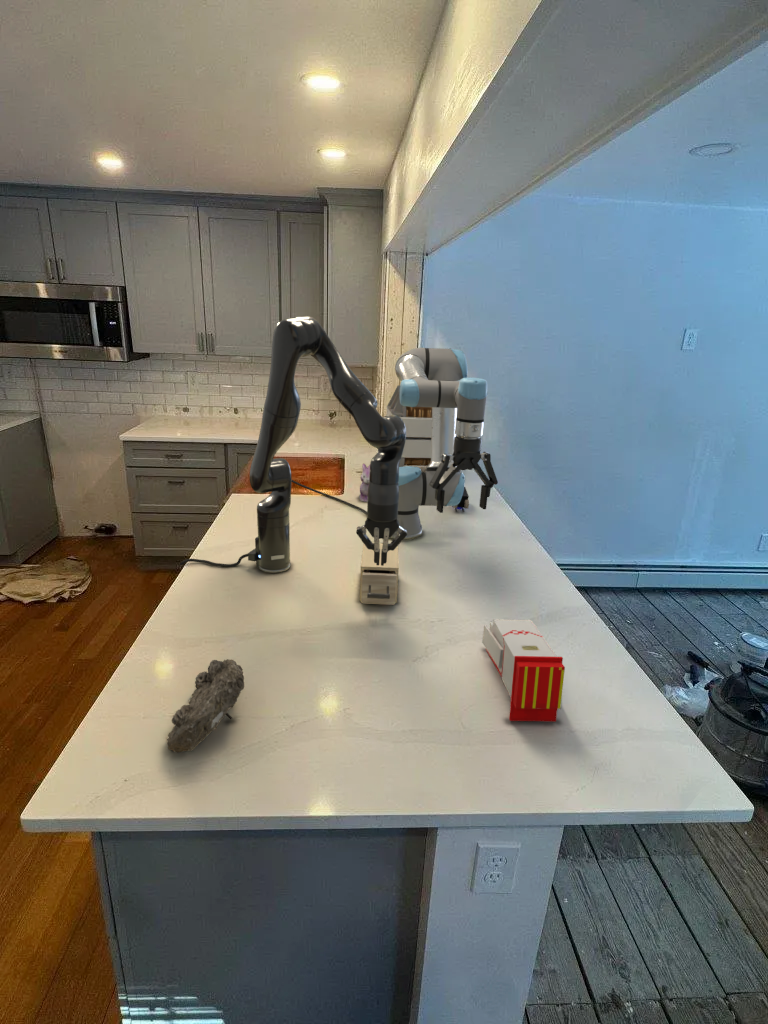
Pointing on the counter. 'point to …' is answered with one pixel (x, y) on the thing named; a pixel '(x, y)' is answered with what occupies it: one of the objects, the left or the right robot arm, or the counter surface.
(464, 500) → the figurine character
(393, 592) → the drawer
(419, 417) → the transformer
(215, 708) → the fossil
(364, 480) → the figurine
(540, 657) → the toy
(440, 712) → the counter surface
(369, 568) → the cabinet
